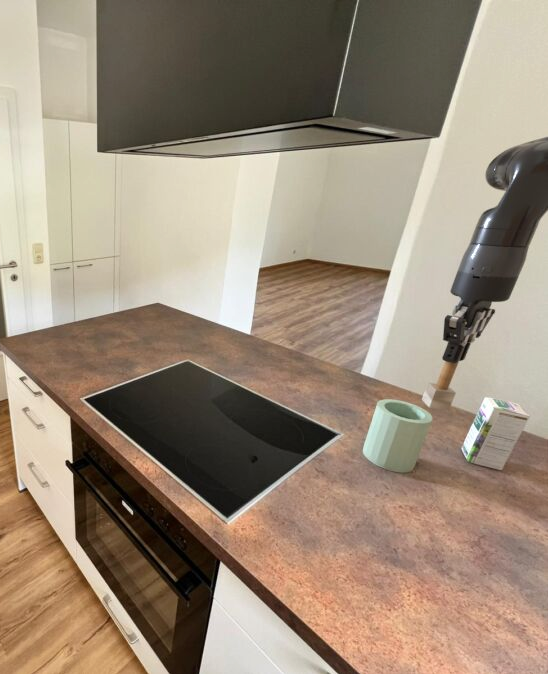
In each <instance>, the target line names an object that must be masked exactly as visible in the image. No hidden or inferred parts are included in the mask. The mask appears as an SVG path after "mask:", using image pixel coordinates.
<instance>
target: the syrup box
mask: <svg viewBox="0 0 548 674" xmlns="http://www.w3.org/2000/svg"><path fill="white" fill-rule="evenodd" d="M530 417H531V415H529V414H528V413H527V411H526V410H525V409H524V408H523V407H522V406H521V405H520V404H519V403H516V402H513V401H509V400H504V399H500V398H494V397H484V399H483V401H482V403H481V405H480V407H479V410H478V412H477V413H476V416H475V417H474V419H473V422H472V424H471V426H470V428H469V430H468V432H467V434H466V437H465V439H464V442H463V444H462V446H461V449H460V450H461V451H462V453H463V455H464V457H465V460H466V461H467V462H468V463H470V464H473V465H477V466H482V467H485V468H490V469H494V470H499V471H502V470H503V469H504V467H505V466H506V463H507V461H508V459H509V457H510V456H511V454H512V451H513V450H514V448H515V446H516V444H517V442H518V440H519V438H520V437H521V434H522V433H523V431H524V429H525V427H526V425H527V423H528V421H529V419H530Z"/></svg>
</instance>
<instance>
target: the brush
mask: <svg viewBox="0 0 548 674" xmlns="http://www.w3.org/2000/svg"><path fill="white" fill-rule="evenodd" d="M455 336H456V337H457V335H455ZM464 348H465V347H464ZM463 350H464V349H463ZM462 353H463V352H462ZM461 355H462V354H461ZM460 358H461V357H460ZM459 360H460V359H459ZM459 363H460V361H459V362H457V363H450V362H447V361H444V364H443V367H442V369H441V371H440V374H439V376H438V379H437V380H436V381H437V382H436V383H434V382H433V383H432V382H428V383H427V384H426V387H425V390H424V392H423V395H422V398H421V401H422V402H423V403H424V404H425V406H427V407H428V408H429V409H437V410H443V411H444V410H445V411H449V410H450V408H451V406H452V404H453V401H454V399H455V396H456V394H457V392H456V391H454V389H453V388H451V387H450V386H451V385H450V384H451V382H452V380H453V377H454V375H455V372H456V370H457V368H458V365H459Z"/></svg>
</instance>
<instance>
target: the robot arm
mask: <svg viewBox="0 0 548 674" xmlns="http://www.w3.org/2000/svg"><path fill="white" fill-rule="evenodd" d="M484 174H485V175H484V177H485V182H486V183H487V185H489V186H490V187H491V188H493V189H495V190H498V191H503V192H504V194H503V195H502V197H500V200H499V202H498V204H496V206H494V207H490V208H488V209H486V210H485V211H483V212H482V213H481V214H480V216H479V218H478V220H477V222H476V225H475V228H474V230H473V233H472V236H471V239H470V241H469V244H468V246H467V248H466V250H465V251H464V253H463V255H462V258H461V260H460V263H459V266H458V269H457V271H456V274H455V277H454V280H453V282H452V285H451V288H450V294H451V295H452V296H455V297H458V298H459V299H460V300H459V303H457V304H456V305H455V306H454V308H453V310H452V313H451V314H452V315H449V314H447V315H445V318H444V321H443V322H444V323H443V335H442V341H444V342H447V343H446V347H445V350H444V352H443V355H442V358H441V359H442V361H444V362H445V361H447V362H450V363H457V362H459V363H460V362H461V361H464V360H466V357H467V354H468V352H469V349H470V347H471V344H473V343H474V342H475V341H476V339H479V338H480V337H481V335H482V333H483V332H484V330H485V329H486V327H487V325H488V324H489V322H490V321H491V319H492V317H493V316H494V314H496V309H495V308H491V306H492V303H502V302H507V301H508V300H509V299H510V297H511V296H512V293H513V291H514V288H515V286H516V284H517V281H518V279H519V277H520V274H521V273H522V270H523V267H524V265H525V263H526V260H527V257H528V251H529V249H530V245H531V243H532V241H533V238H534V236H535V234H536V232H537V229H538V227H539V224H540V222H541V220H542V218H543V217H544V216H545V215H546V214H547V212H548V136H545V137H541V138H538V139H534V140H531V141H526V142H523V143H520V144H517V145H514V146H512V147H509V148H507V149H506V150H504V151H502V152H500V153H499V154H498V155H496V156H495V157H494V158H493V159H492V160H491V162H490V163H489V164H488V166H487V167H486V170H485V173H484ZM455 335H457V337H456V336H455ZM464 347H465V348H464ZM463 349H464V350H463ZM462 352H463V353H462ZM461 354H462V355H461ZM460 357H461V358H460ZM459 359H460V360H459Z"/></svg>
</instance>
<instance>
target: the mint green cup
mask: <svg viewBox="0 0 548 674" xmlns="http://www.w3.org/2000/svg"><path fill="white" fill-rule="evenodd" d="M433 420H434V419H433V416H432V414H431V413H430V412H429V411H427V410H426V409H424V408H423V407H420V406H418V405H416V404H414V403H410V402H408V401H404V400H399V399H391V398H385V399H380V400H378V401H377V403H376V406H375V409H374V412H373V415H372V419H371V421H370V424H369V428H368V431H367V435H366V438H365V441H364V445H363V448H362V454H363V455H364V457H365V458H366V459H367V460H368V461H369V462H371V463H372V464H373V465H375V466H377V467H379V468H381V469H384V470H387V471H389V472H394V473H399V474H400V473H401V474H406V473H410V472H412V471H413V470H414V468H415V466H416V464H417V461H418V460H419V459H418V458H419V456H420V453H421V451H422V448H423V445H424V443H425V440H426V438H427V435H428V433H429V430H430V428H431V425H432V423H433Z"/></svg>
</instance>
